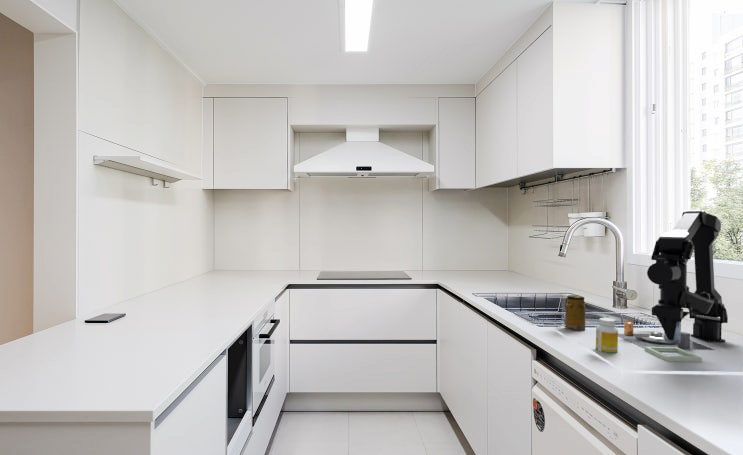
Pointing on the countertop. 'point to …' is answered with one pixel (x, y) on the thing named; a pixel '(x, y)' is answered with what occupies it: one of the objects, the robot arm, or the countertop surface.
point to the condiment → (575, 313)
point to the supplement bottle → (607, 336)
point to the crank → (644, 334)
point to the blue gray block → (677, 334)
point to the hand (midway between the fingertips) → (672, 338)
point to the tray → (686, 357)
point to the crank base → (684, 344)
